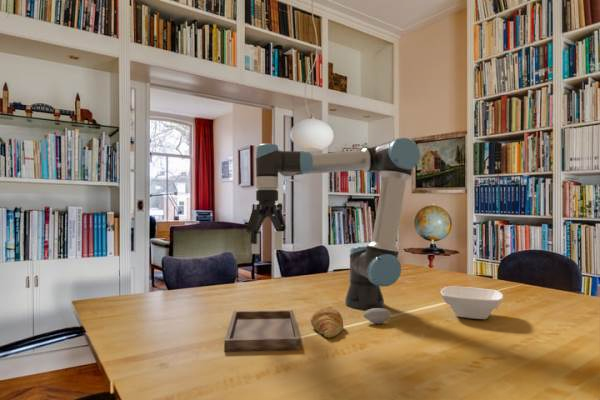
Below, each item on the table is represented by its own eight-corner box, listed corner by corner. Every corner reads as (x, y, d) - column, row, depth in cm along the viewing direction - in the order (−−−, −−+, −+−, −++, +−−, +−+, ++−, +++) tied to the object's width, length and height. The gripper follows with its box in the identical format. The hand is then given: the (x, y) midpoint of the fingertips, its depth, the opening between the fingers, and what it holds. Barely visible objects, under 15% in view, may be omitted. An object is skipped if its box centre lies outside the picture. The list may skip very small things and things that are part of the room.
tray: (293, 318, 136) (293, 310, 136) (300, 349, 107) (300, 338, 107) (233, 320, 134) (233, 311, 134) (224, 351, 105) (224, 340, 105)
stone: (388, 320, 135) (388, 305, 135) (394, 325, 130) (394, 309, 130) (360, 321, 134) (360, 306, 134) (366, 326, 128) (366, 310, 128)
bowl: (502, 313, 146) (502, 289, 146) (505, 328, 127) (505, 301, 127) (443, 306, 155) (443, 284, 155) (437, 320, 136) (437, 295, 136)
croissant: (339, 352, 115) (352, 328, 115) (309, 336, 114) (322, 312, 114) (332, 328, 136) (343, 308, 136) (307, 314, 136) (318, 294, 136)
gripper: (277, 190, 148) (277, 247, 148) (235, 188, 126) (235, 254, 126) (295, 190, 144) (295, 248, 144) (254, 187, 122) (254, 256, 122)
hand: (267, 251), depth 135 cm, fingers open, 13 cm apart
